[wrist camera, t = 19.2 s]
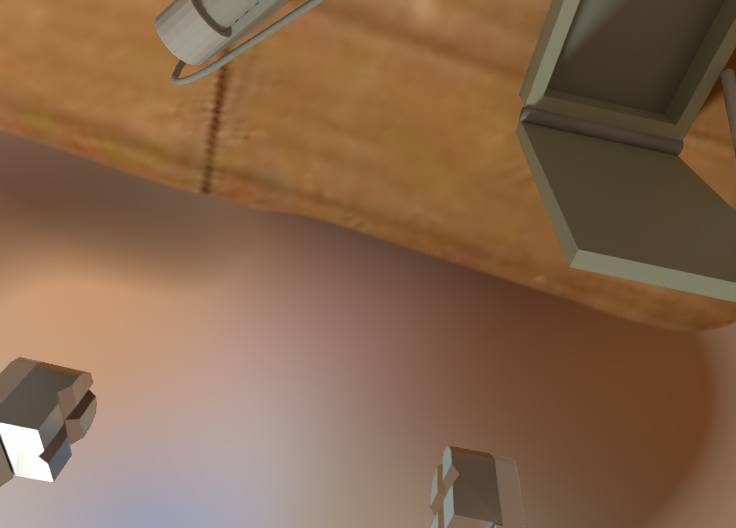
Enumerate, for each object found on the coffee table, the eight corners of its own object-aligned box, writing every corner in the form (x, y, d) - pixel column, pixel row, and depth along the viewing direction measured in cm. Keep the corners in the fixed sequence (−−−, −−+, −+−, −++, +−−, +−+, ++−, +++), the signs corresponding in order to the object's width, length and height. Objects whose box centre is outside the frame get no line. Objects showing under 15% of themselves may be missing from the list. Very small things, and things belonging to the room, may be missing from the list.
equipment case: (510, 119, 41) (569, 266, 24) (644, -260, 28) (978, -532, 11) (663, 152, 41) (831, 322, 24) (863, -208, 29) (1516, -394, 11)
